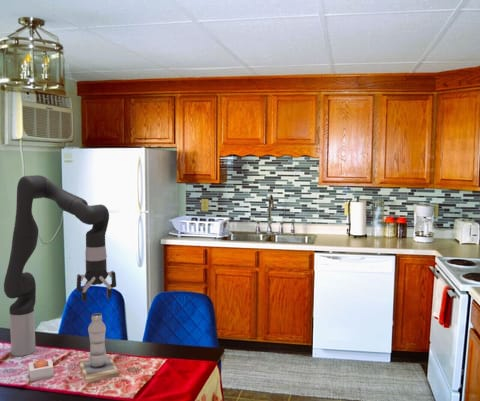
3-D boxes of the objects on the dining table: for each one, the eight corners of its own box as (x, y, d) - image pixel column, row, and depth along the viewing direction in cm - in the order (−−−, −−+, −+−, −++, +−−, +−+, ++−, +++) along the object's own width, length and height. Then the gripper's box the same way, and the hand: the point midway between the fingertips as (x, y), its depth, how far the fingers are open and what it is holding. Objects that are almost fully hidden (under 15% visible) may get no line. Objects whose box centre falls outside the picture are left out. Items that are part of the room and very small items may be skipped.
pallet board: (78, 363, 187) (78, 359, 187) (109, 357, 192) (109, 353, 192) (86, 383, 171) (85, 378, 171) (119, 376, 176) (119, 371, 176)
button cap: (34, 371, 178) (34, 361, 178) (46, 369, 180) (46, 359, 179) (35, 375, 174) (35, 365, 174) (47, 373, 176) (46, 363, 176)
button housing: (29, 372, 179) (28, 362, 179) (51, 368, 183) (51, 358, 182) (30, 381, 172) (29, 371, 172) (53, 377, 175) (53, 366, 175)
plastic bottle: (102, 369, 178) (100, 318, 176) (85, 368, 179) (84, 316, 177) (110, 362, 184) (109, 312, 182) (94, 361, 186) (93, 311, 184)
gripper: (113, 254, 184) (113, 295, 186) (74, 257, 178) (75, 299, 179) (117, 258, 177) (118, 300, 179) (77, 261, 171) (78, 305, 173)
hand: (96, 299), depth 179 cm, fingers open, 8 cm apart
